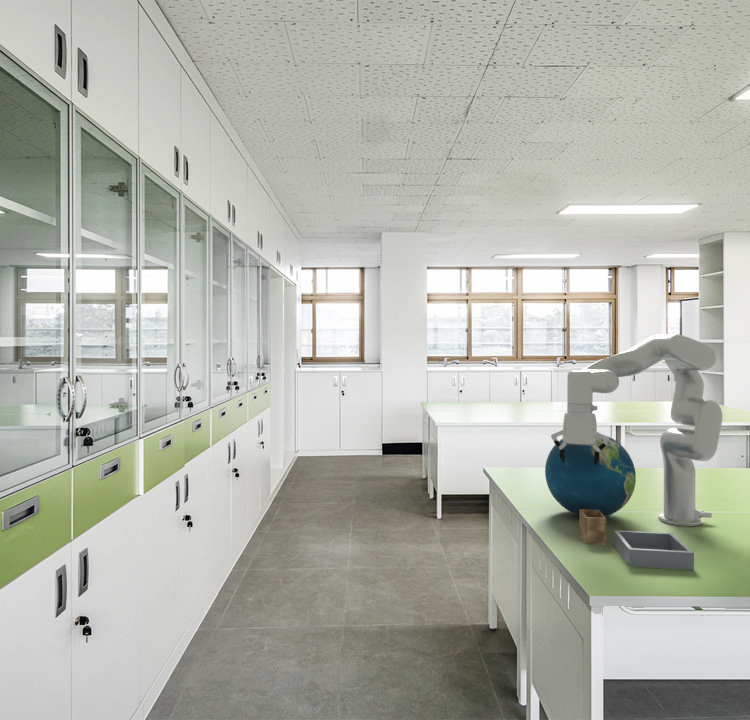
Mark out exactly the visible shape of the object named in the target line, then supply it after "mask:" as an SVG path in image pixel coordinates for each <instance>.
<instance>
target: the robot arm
mask: <svg viewBox="0 0 750 720" xmlns="http://www.w3.org/2000/svg"><path fill="white" fill-rule="evenodd" d="M661 361H664V363H665V364H666V366H667V367H668V368H669V370H670V371H671V373H672V374H673V375H672V376H673V377H674V380H675V386H674V393H673V398H672V403H671V407H670V419H671V420H672V421H673V422H674V423H676V424H677V425H678V424H679V425H682V426H688V427H689V426H690V427H694V429H692V430H691V429H688V428H678V427H672V428H668V429H666V430H664V431H663V432H662V433H661V435H660V440H659V442H660V443H659V444H660V449H661V454H662V462H663V512H661V513H659V514H658V519H659V520H660V521H661V522H662V523H663V522H664V523H666V524H670V525H674V526H679V527H680V526H682V527H696V526H699V525H702V518H706V519H711V518H712V517H713V514H712V512H711V511H705V510H699V509H697V508H696V501H697V500H696V498H697V497H696V477H697V476H696V472H697V471H696V467H695V464H694V461H697V462H698V461H699V462H708V461H710V460H711V459H713V457H715V454H716V452H717V449H718V444H719V439H720V434H721V430H722V425H723V423H722V422H723V410H722V408H721V406H720V405H719V403H718V402H716V401H715V400H712V399H707V398H704V397H703V396H704V389H705V383H704V380H703V377H702V375H701V374H700V372H701V371H708V370H709V369H711V368H713V367H714V366H715V365H716V362H717V354H716V352H715V350H714V349H713V347H711V346H710V345H708V344H706V343H703V342H701V341H698V340H696V339H693V338H691V337H689V336H686V335H682V334H678V333H670V334H669V333H667V334H665V333H664V334H655V335H652V336H649V337H647V338H645V339H644V340H642V341H640V342H639V343H638V344H635V345H634V346H631V347H630V348H628V349H627V350H625V351H622V352H619V353H616V354H613V355H611V356H608V357H605V358H602V359H599V360H597V361H596V362H593V363H592V364H590V365H588V366H586V367H584V368H583V369H581V370H580V369H579V370H576V369H575V370H574V369H573V370H570V371H568V373H567V382H566V384H567V387H566V388H567V391H566V394H567V398H566V399H567V404H566V405H567V406H566V408H567V410H566V411H567V412H565V413H564V416H563V417H564V418H563V423H562V424H563V425H562V429H561V430H559V431H556V432H555V433H553V434H551V435H550V437H551V439H552V441H553V444H554V445H556V446H557V447H558V448H559V449H560V459H562V462H565V448H564V447H565V446H566V445H567V444H573V445H589V446H591V445H592V446H593V448H594V449H595V452H594V464H595V465H597V462H599V452H600V451H601V450H602V449H603V448H604V447H605V446H606V444H607V443H608V441H609V438H608V437H606V436H604V435H605V434H604V435H602V434H603V433H602V434H600V433H601V432H598V431H597V429H598V427H597V416H596V413H593V412H594V411H598V405H594V403H593V402H594V401H593V393H597V394H611V393H613V392H615V391H616V390H618V389H617V388H618V387H619V385H620V378H623V377H624V378H625V377H631V376H635V375H638V374H641V373H643V372H644V371H646V370H648V369H650V368H651V367H652V366H654V365H656V364H658V363H660V362H661ZM699 371H700V372H699ZM559 436H562V439H563V443H562V444H561V443H560V442H559V441H560V440H558V437H559ZM597 437H599V438H601V439H603V443H602V444H601V445H600V446H598V445H597V444H596V442H597ZM693 460H694V461H693Z"/></svg>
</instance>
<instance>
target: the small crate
mask: <svg viewBox="0 0 750 720" xmlns="http://www.w3.org/2000/svg"><path fill="white" fill-rule="evenodd" d="M579 510H580V516H579V535H581V536H580V537H581V539H582V541H583V542H584V544H585V545H602V546H606V545H607V518H606V517H607V516H604V515H603V514H602V513H601V511H600V510H586V509H579Z"/></svg>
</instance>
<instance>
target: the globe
mask: <svg viewBox="0 0 750 720" xmlns="http://www.w3.org/2000/svg"><path fill="white" fill-rule="evenodd" d="M599 433H600V434H602V435H604V436H606V437H608V438H609V441H608V443H607V444H606V446H605V447H604V448H603V449H602V450H601V451H600V452H599V462H597V465H595V464H594V452H595V449H594V448H593V446H592V445H591V446H589V445H573V444H567V445H566V446H565V447H564V448H565V462H562V459H560V449H559V448H558V447H557V446H556V444H554V445H553V447H552V448H551V450H550V451H549V453H548V455H547V458H546V462H545V466H544V467H545V468H544V476H545V482H546V485H547V487H548V490H549V492H550V494H551V495H552V497H553V498H554V500H555V501H556V502H557V503H558V504H559V505H560V506H561V507H562V508H564V509H565V510H567V511H569V512H570V513H572V514H574V515H576V516H579V517H580V510H579V509H586V510H600V511H601V513H602V514H603V515H604V516H605V517H608V516H610V515H614V514H615V513H617V512H618V511H620V510H621V509H623V508H624V506H626V504H628V502H629V501H630V500H631V497H632V496H633V494H634V491H635V487H636V481H637V480H636V479H637V477H636V474H637V473H636V469H635V465H634V462H633V459H632V457H631V456H630V455H631V454H630V453H629V452H628V451H627V450H626V449H625V447H624V446H623V445H622V444H621V443H620V442H618V441H617V440H616V439H614V438H613V437H611V436H609V435H607V434H604V433H601V432H599ZM558 441H559V442H560V443H561V444H562V443H563V438H561V439H560V440H558ZM602 443H603V439H601V438H599V437H597V442H596V444H597V445H598V446H600V445H601V444H602Z"/></svg>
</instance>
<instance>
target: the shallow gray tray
mask: <svg viewBox="0 0 750 720" xmlns="http://www.w3.org/2000/svg"><path fill="white" fill-rule="evenodd" d="M613 546H614V548H615V549H616V550H617V552H618V554H619V555H620V557H622V560H624V562H625V561H626V562H625V563H626V564H627V566H628V565H629V566H635V567H634V568H646V567H649V569H662V568H665V569H666V570H679V569H689V570H688V571H695V552H694V551H692V549H690V548H689V547H688V545H686V544H685V543H684V542H682V540H681V539H679V538H678V536H676V535H675V534H674V533H672V532H657V531H655V532H654V531H638V530H636V531H634V530H618V529H617V530H616V529H615V530H613ZM629 566H628V567H629Z"/></svg>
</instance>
